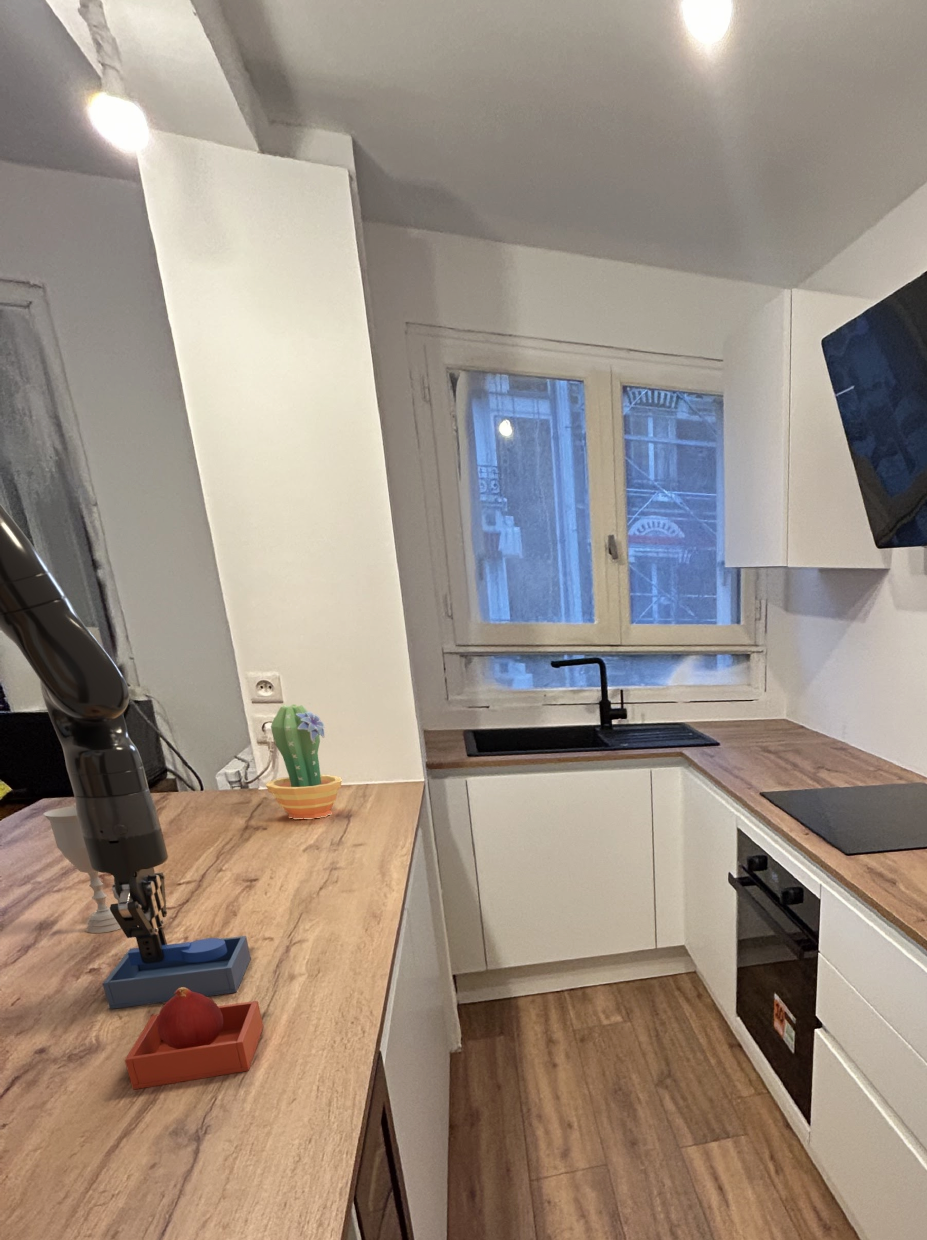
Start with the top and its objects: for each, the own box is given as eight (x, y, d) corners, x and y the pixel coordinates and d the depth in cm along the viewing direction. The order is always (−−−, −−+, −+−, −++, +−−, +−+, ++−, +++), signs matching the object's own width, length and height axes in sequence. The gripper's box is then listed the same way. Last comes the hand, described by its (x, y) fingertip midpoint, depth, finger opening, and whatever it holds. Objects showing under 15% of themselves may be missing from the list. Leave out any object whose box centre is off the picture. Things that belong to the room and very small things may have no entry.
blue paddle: (127, 971, 101) (123, 958, 100) (138, 956, 105) (134, 943, 104) (223, 959, 105) (220, 946, 104) (230, 945, 109) (227, 933, 108)
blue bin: (109, 1009, 99) (102, 983, 97) (136, 972, 108) (129, 948, 107) (236, 992, 104) (230, 967, 102) (251, 958, 113) (246, 935, 112)
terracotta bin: (132, 1089, 83) (124, 1060, 82) (159, 1042, 92) (152, 1014, 90) (248, 1070, 87) (242, 1042, 86) (263, 1027, 96) (258, 1000, 94)
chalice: (136, 915, 127) (107, 803, 121) (139, 928, 122) (109, 812, 116) (75, 925, 123) (42, 809, 117) (76, 939, 118) (42, 819, 112)
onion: (170, 1045, 90) (153, 980, 87) (231, 1035, 93) (217, 971, 90) (161, 1071, 85) (143, 1003, 83) (226, 1059, 88) (210, 992, 85)
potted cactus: (281, 827, 177) (259, 711, 169) (264, 813, 188) (243, 703, 179) (356, 817, 187) (340, 706, 179) (336, 804, 198) (320, 700, 189)
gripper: (102, 817, 102) (136, 943, 108) (62, 845, 91) (102, 985, 96) (173, 812, 105) (202, 935, 111) (143, 839, 93) (178, 976, 99)
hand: (156, 958), depth 104 cm, fingers closed on blue paddle, 1 cm apart
